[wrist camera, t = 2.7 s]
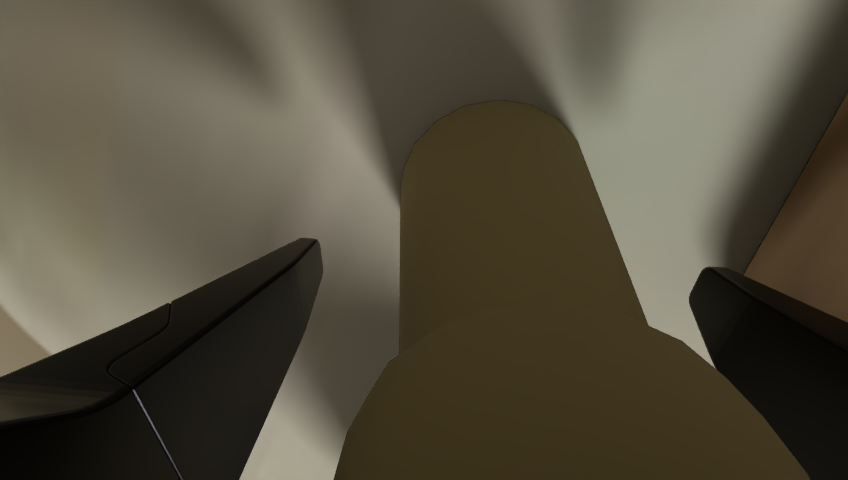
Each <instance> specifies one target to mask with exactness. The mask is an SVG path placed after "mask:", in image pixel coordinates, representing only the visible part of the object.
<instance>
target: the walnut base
mask: <svg viewBox="0 0 848 480" xmlns="http://www.w3.org/2000/svg"><path fill="white" fill-rule="evenodd" d="M744 276H746V277H748V278H750V279H753V280H755V281H757V282H759V283H761V284H764V285H766V286H768V287H770V288H773V289H775V290H777V291H779V292H781V293H784V294H786V295H788V296H790V297H792V298H795V299H797V300H799V301H801V302H804V303H806V304H808V305H810V306H812V307H815V308H817V309H819V310H821V311H823V312H826V313H828V314H830V315H832V316H835V317H837V318H839V319H841V320H843V321H846V322H848V93H847V95H846V97H845V99H844V100H843V102H842V104H841V106H840V107H839V109H838V111H837V113H836V114H835V116H834V118H833V120H832V121H831V123H830V125H829V127H828V128H827V130H826V132H825V134H824V135H823V137H822V139H821V141H820V142H819V144H818V146H817V148H816V149H815V151H814V153H813V155H812V156H811V158H810V160H809V162H808V163H807V165H806V167H805V169H804V170H803V172H802V174H801V176H800V177H799V179H798V181H797V182H796V184H795V186H794V188H793V189H792V191H791V193H790V195H789V196H788V198H787V200H786V202H785V203H784V205H783V207H782V209H781V210H780V212H779V214H778V216H777V217H776V219H775V221H774V223H773V224H772V226H771V228H770V230H769V231H768V233H767V235H766V237H765V238H764V240H763V242H762V244H761V245H760V247H759V249H758V251H757V252H756V254H755V256H754V258H753V259H752V261H751V263H750V265H749V266H748V268H747V270H746V272H745V273H744Z"/></svg>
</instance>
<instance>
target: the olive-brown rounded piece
mask: <svg viewBox="0 0 848 480" xmlns="http://www.w3.org/2000/svg"><path fill="white" fill-rule="evenodd" d="M334 480H810V478H809V476H808V474H807V473H806V471H805V470H804V469H803V468H802V466H801V465H800V464H799V462H798V461H797V460H796V459H795V457H794V456H793V455H792V453H791V452H790V451H789V449H788V448H787V447H786V446H785V444H784V443H783V442H782V440H781V439H780V438H779V436H778V435H777V434H776V433H775V431H774V430H773V429H772V427H771V426H770V425H769V423H768V422H767V421H766V420H765V418H764V417H763V416H762V415H761V414H760V413H759V412H758V411H757V410H756V409H755V408H754V406H753V405H752V404H751V403H750V402H749V401H748V400H747V399H746V398H745V397H744V396H743V395H742V394H741V393H740V392H739V391H738V390H737V389H736V388H735V387H734V386H733V385H732V384H731V382H730V381H729V380H728V379H727V378H726V377H725V376H723V375H722V374H721V373H720V372H719V371H717V370H716V369H715V368H714V367H713V366H711V365H710V364H709V363H708V362H707V361H705V360H704V359H703V358H702V357H701V356H699V355H698V354H697V353H696V352H695V351H693V350H692V349H691V348H690V347H689V346H687V345H686V344H685V343H684V342H683V341H681V340H679V339H676V338H674V337H672V336H670V335H668V334H665V333H663V332H661V331H659V330H657V329H654V328H652V327H650V326H648V323H647V320H646V318H645V315H644V313H643V310H642V307H641V305H640V302H639V300H638V297H637V294H636V292H635V289H634V287H633V284H632V281H631V279H630V276H629V274H628V271H627V268H626V266H625V263H624V261H623V258H622V255H621V253H620V250H619V248H618V245H617V242H616V240H615V237H614V235H613V232H612V229H611V227H610V224H609V222H608V219H607V216H606V214H605V211H604V209H603V206H602V203H601V201H600V198H599V196H598V193H597V190H596V188H595V185H594V183H593V180H592V177H591V175H590V172H589V170H588V167H587V164H586V162H585V159H584V157H583V154H582V151H581V149H580V146H579V144H578V142H577V141H576V139H575V138H574V137H573V136H572V135H571V134H570V133H569V131H568V130H567V129H566V128H565V127H564V126H563V124H562V123H561V122H560V121H559V120H558V119H556V118H554V117H552V116H550V115H549V114H547V113H545V112H543V111H541V110H539V109H537V108H536V107H534V106H532V105H528V104H522V103H515V102H508V101H502V100H495V101H490V102H484V103H478V104H472V105H467V106H464V107H462V108H460V109H458V110H456V111H455V112H453V113H451V114H449V115H447V116H445V117H443V118H441V119H440V120H438V121H436V122H435V123H434V124H433V125H432V126H431V128H430V129H429V130H428V131H427V132H426V133H425V134H424V135H423V136H422V137H421V138H420V139H419V140H418V141H417V142H416V143H415V145H414V147H413V150H412V152H411V154H410V156H409V158H408V160H407V162H406V164H405V167H404V169H403V177H402V186H401V197H400V317H399V355H398V356H397V357H395V358H394V359H393V360H391V361H390V362H389V363H388V365H387V366H386V368H385V369H384V371H383V373H382V374H381V376H380V377H379V379H378V380H377V382H376V384H375V385H374V387H373V388H372V390H371V392H370V393H369V395H368V396H367V398H366V400H365V402H364V404H363V405H362V407H361V409H360V411H359V412H358V414H357V416H356V418H355V420H354V421H353V423H352V425H351V427H350V429H349V430H348V432H347V434H346V438H345V442H344V445H343V449H342V452H341V456H340V459H339V463H338V466H337V470H336V473H335V477H334Z"/></svg>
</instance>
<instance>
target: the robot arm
mask: <svg viewBox="0 0 848 480" xmlns="http://www.w3.org/2000/svg"><path fill="white" fill-rule="evenodd" d="M322 274H323V264H322V256H321V248H320V243H319V241H318V240H317V239H313V238H300V239H298V240H296V241H294V242H292V243H289V244H287V245H285V246H283V247H281V248H279V249H277V250H275V251H273V252H271V253H269V254H267V255H265V256H263V257H261V258H259V259H257V260H255V261H253V262H251V263H249V264H247V265H245V266H243V267H241V268H239V269H237V270H234V271H232V272H230V273H228V274H226V275H224V276H222V277H220V278H218V279H216V280H214V281H212V282H210V283H208V284H206V285H204V286H202V287H200V288H198V289H196V290H194V291H192V292H190V293H188V294H186V295H184V296H181V297H179V298H177V299H175V300H173V301H172V302H171V304H170V303H167V304H165V305H163V306H161V307H159V308H157V309H155V310H153V311H151V312H149V313H147V314H145V315H142V316H140V317H138V318H136V319H134V320H132V321H130V322H128V323H125V324H123V325H121V326H119V327H116V328H114V329H112V330H110V331H107V332H105V333H103V334H100V335H98V336H96V337H94V338H91V339H89V340H87V341H84V342H82V343H80V344H77V345H75V346H73V347H70V348H68V349H65V350H63V351H61V352H58V353H56V354H54V355H51V356H49V357H47V358H44V359H42V360H40V361H38V362H35V363H33V364H30V365H28V366H25V367H23V368H21V369H19V370H16V371H14V372H11V373H9V374H7V375H4V376H2V377H0V480H239V479H240V476H241V474H242V472H243V470H244V467H245V465H246V463H247V461H248V458H249V456H250V454H251V452H252V449H253V447H254V445H255V443H256V440H257V438H258V436H259V434H260V431H261V429H262V427H263V425H264V422H265V420H266V418H267V416H268V413H269V411H270V409H271V407H272V404H273V402H274V400H275V398H276V395H277V393H278V391H279V389H280V387H281V384H282V382H283V380H284V378H285V375H286V373H287V371H288V369H289V366H290V364H291V362H292V360H293V357H294V355H295V353H296V351H297V348H298V346H299V344H300V342H301V339H302V337H303V335H304V332H305V330H306V327H307V324H308V321H309V318H310V315H311V311H312V308H313V305H314V301H315V298H316V295H317V292H318V288H319V285H320V282H321V278H322ZM689 304H690V307H691V310H692V312H693V315H694V317H695V320H696V322H697V325H698V327H699V330H700V332H701V335H702V337H703V340H704V342H705V345H706V348H707V350H708V353H709V355H710V357H711V360H712V362H713V364H714V366H715V368H716V370H717V371H719V372H720V373H721V374H722V375H723V376H725V377H726V378H727V379H728V380H729V381H730V382H731V384H732V385H733V386H734V387H735V388H736V389H737V390H738V391H739V392H740V393H741V394H742V395H743V396H744V397H745V398H746V399H747V400H748V401H749V402H750V403H751V404H752V405H753V406H754V408H755V409H756V410H757V411H758V412H759V413H760V414H761V415H762V416H763V417H764V418H765V420H766V421H767V422H768V423H769V425H770V426H771V427H772V429H773V430H774V431H775V433H776V434H777V435H778V436H779V438H780V439H781V440H782V442H783V443H784V444H785V446H786V447H787V448H788V449H789V451H790V452H791V453H792V455H793V456H794V457H795V459H796V460H797V461H798V462H799V464H800V465H801V466H802V468H803V469H804V470H805V471H806V473H807V474H808V476H809V478H810V480H848V322H846V321H843V320H841V319H839V318H837V317H835V316H832V315H830V314H828V313H826V312H823V311H821V310H819V309H817V308H815V307H812V306H810V305H808V304H806V303H804V302H801V301H799V300H797V299H795V298H792V297H790V296H788V295H786V294H784V293H781V292H779V291H777V290H775V289H773V288H770V287H768V286H766V285H764V284H761V283H759V282H757V281H755V280H753V279H750V278H748V277H746V276H744V275H742V274H739V273H737V272H735V271H733V270H730V269H728V268H724V267H706V268H704V269H703V270H702V271H701V273H700V275H699V277H698V279H697V281H696V283H695V285H694V287H693V289H692V291H691V293H690V296H689Z"/></svg>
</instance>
